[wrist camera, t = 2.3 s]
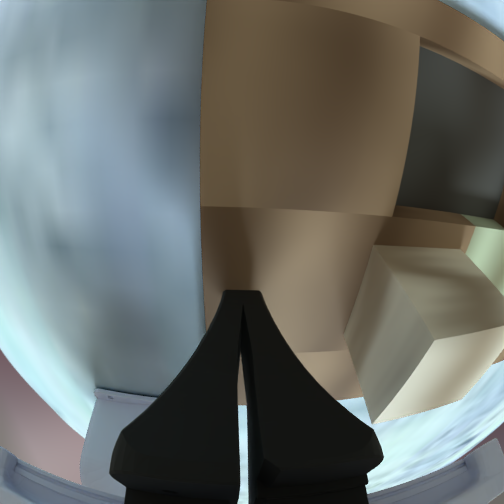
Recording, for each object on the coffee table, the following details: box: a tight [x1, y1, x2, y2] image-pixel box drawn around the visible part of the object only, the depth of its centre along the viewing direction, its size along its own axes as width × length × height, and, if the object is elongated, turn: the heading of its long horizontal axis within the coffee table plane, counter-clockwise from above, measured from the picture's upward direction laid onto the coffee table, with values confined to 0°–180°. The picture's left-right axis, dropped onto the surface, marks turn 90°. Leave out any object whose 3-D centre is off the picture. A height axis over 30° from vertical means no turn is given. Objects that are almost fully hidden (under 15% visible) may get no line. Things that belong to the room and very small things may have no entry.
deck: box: [200, 0, 504, 405], centre depth 12 cm, size 28×22×2 cm
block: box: [343, 245, 504, 424], centre depth 10 cm, size 5×5×5 cm
